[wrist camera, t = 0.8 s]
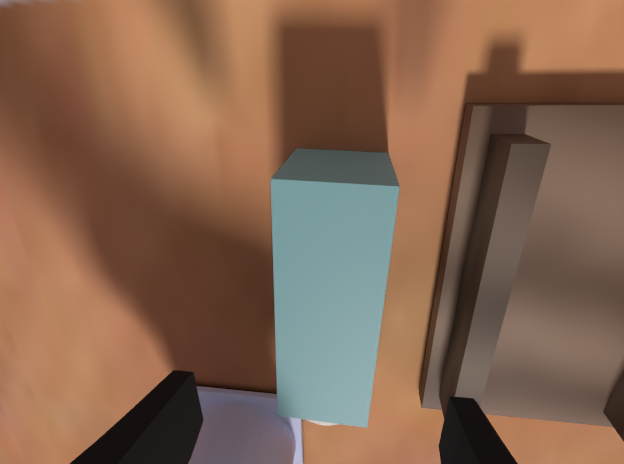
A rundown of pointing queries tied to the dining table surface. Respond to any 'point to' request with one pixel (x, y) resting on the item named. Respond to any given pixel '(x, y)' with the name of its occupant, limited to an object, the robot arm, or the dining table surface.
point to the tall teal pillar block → (330, 280)
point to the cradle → (533, 266)
